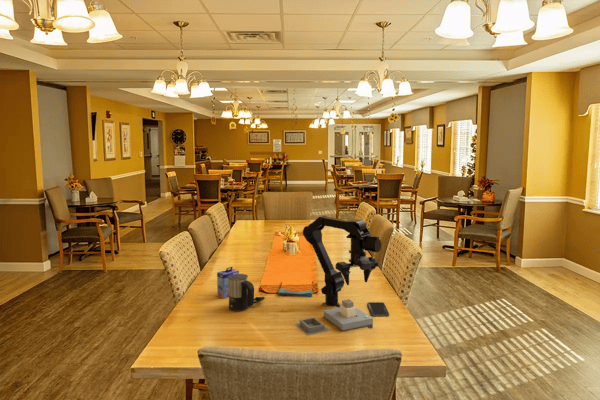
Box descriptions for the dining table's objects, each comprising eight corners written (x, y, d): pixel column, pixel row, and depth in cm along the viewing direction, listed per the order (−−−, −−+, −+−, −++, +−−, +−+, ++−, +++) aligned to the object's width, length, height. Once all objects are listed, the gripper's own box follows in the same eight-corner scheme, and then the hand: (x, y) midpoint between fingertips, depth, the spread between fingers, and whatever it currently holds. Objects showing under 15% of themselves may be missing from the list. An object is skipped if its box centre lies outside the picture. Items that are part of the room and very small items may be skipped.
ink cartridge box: (223, 299, 217) (223, 270, 215) (216, 296, 221) (215, 267, 219) (239, 294, 224) (239, 265, 222) (232, 291, 228) (232, 263, 226)
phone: (371, 314, 195) (367, 302, 210) (371, 317, 195) (367, 304, 210) (389, 314, 195) (384, 302, 210) (389, 317, 195) (384, 304, 210)
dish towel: (277, 297, 221) (276, 292, 220) (282, 282, 244) (282, 278, 243) (312, 298, 219) (312, 293, 219) (313, 283, 243) (313, 278, 242)
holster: (294, 326, 185) (294, 319, 185) (316, 321, 190) (316, 315, 189) (307, 337, 175) (307, 330, 174) (330, 332, 179) (330, 325, 178)
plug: (339, 318, 189) (339, 299, 188) (348, 316, 191) (348, 298, 190) (347, 323, 184) (347, 304, 183) (355, 321, 186) (355, 303, 185)
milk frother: (224, 310, 204) (223, 278, 202) (241, 298, 218) (240, 268, 216) (252, 314, 199) (251, 281, 197) (268, 302, 213) (267, 271, 211)
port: (323, 319, 192) (323, 309, 192) (351, 313, 198) (352, 304, 197) (342, 334, 178) (342, 323, 177) (372, 327, 184) (372, 317, 183)
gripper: (348, 255, 185) (348, 292, 187) (386, 250, 193) (385, 285, 195) (334, 249, 195) (334, 284, 197) (371, 245, 203) (370, 278, 205)
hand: (356, 283), depth 198 cm, fingers open, 9 cm apart
